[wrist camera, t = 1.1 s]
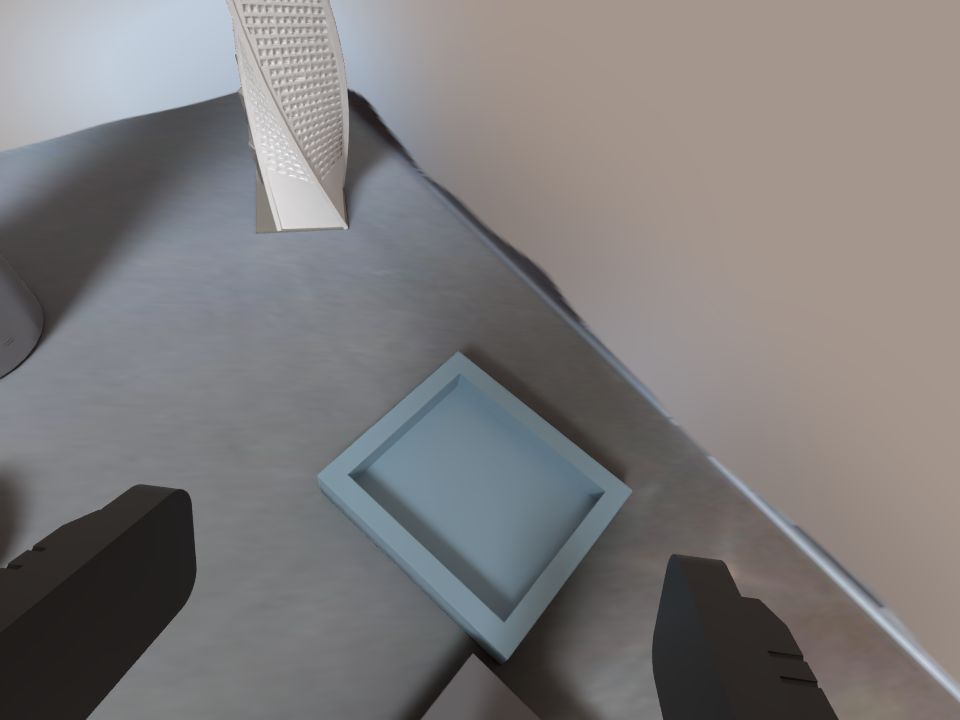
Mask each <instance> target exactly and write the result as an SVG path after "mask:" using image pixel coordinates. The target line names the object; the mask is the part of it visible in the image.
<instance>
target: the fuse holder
mask: <svg viewBox="0 0 960 720" xmlns="http://www.w3.org/2000/svg"><path fill="white" fill-rule="evenodd" d="M420 720H541V719H540V718H538V717H537V716H536V715H535V714H534V713H533V712H532V711H531V710H530V709H529V708H528V707H527V706H526V705H525V704H524V703H523V702H522V701H521V700H520V699H519V698H518V697H517V696H516V695H515V694H514V693H513V692H512V691H511V690H510V689H509V688H508V687H507V686H506V685H505V684H504V683H503V682H502V681H501V680H500V679H499V678H498V677H497V676H496V675H495V674H494V673H493V672H492V671H491V670H490V669H489V668H488V667H487V666H486V665H485V664H484V663H483V662H481V661H480V660H479V659H478V658H477V657H476V656H475V655H474V654H472V655H471V656H470V657H469V658H468V659H467V660H466V661H465V662H464V664H463V665H462V666H461V668H460V669H459V670H458V671H457V673H456V674H455V675H454V676H453V678H452V679H451V680H450V682H449V683H448V684H447V685H446V687H445V688H444V689H443V691H442V692H441V693H440V694H439V696H438V697H437V698H436V699H435V701H434V702H433V703H432V705H431V706H430V707H429V708H428V710H427V711H426V712H425V714H424V715H423V716H422V717H421V719H420Z"/></svg>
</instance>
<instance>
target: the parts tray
mask: <svg viewBox="0 0 960 720" xmlns="http://www.w3.org/2000/svg"><path fill="white" fill-rule="evenodd" d="M317 479H318V482H319V486H320V489H321V492H322V493H323V494H324V495H325V496H326V497H327V498H328V499H329V500H330V501H332V502H333V503H334V504H335V505H336V506H337V507H338V508H339V509H340V510H341V511H342V512H343V513H344V514H345V515H346V516H347V517H348V518H349V519H350V520H351V521H352V522H353V523H354V524H355V525H356V526H357V527H358V528H359V529H360V530H361V531H362V532H363V533H364V534H365V535H366V536H367V537H368V538H370V539H371V540H372V541H373V542H374V543H375V544H376V545H377V546H378V547H379V548H380V549H381V550H382V551H383V552H384V553H385V554H386V555H387V556H388V557H389V558H390V559H391V560H392V561H393V562H394V563H395V564H396V565H397V566H398V567H399V568H400V569H401V570H402V571H403V572H404V573H405V574H406V575H408V576H409V577H410V578H411V579H412V580H413V581H414V582H415V583H416V584H417V585H418V586H419V587H420V588H421V589H422V590H423V591H424V592H425V593H426V594H427V595H428V596H429V597H430V598H431V599H432V600H433V601H434V602H435V603H436V604H437V605H438V606H439V607H440V608H441V609H442V610H443V611H444V612H446V613H447V614H448V615H449V616H450V617H451V618H452V619H453V620H454V621H455V622H456V623H457V624H458V625H459V626H460V627H461V628H462V629H463V630H464V631H465V632H466V633H467V634H468V635H469V636H470V637H471V638H472V639H473V640H474V641H475V642H476V643H477V644H478V645H479V646H480V647H481V648H482V649H484V650H485V651H486V652H487V653H488V654H489V655H490V656H491V657H492V658H493V659H494V660H495V661H496V662H497V663H498V664H499V665H501V664H502V663H504V662H505V661H507V660H508V659H509V657H510V656H511V655H512V653H513V652H514V651H515V649H516V648H517V647H518V645H519V644H520V642H521V641H522V640H523V638H524V637H525V636H526V634H527V633H528V632H529V630H530V629H531V628H532V626H533V625H534V624H535V622H536V621H537V620H538V618H539V617H540V615H541V614H542V613H543V611H544V610H545V609H546V607H547V606H548V605H549V603H550V602H551V601H552V599H553V598H554V597H555V595H556V594H557V593H558V591H559V590H560V588H561V587H562V586H563V584H564V583H565V582H566V580H567V579H568V578H569V576H570V575H571V574H572V572H573V571H574V570H575V568H576V567H577V566H578V564H579V563H580V562H581V560H582V559H583V557H584V556H585V555H586V553H587V552H588V551H589V549H590V548H591V547H592V545H593V544H594V543H595V541H596V540H597V539H598V537H599V536H600V535H601V533H602V532H603V530H604V529H605V528H606V526H607V525H608V524H609V522H610V521H611V520H612V518H613V517H614V516H615V514H616V513H617V512H618V510H619V509H620V508H621V506H622V505H623V503H624V502H625V501H626V499H627V498H628V497H629V495H630V494H631V493H632V491H633V490H631V489H630V488H629V487H628V486H626V485H625V484H624V483H623V482H621V481H620V480H619V479H618V478H616V477H615V476H614V475H613V474H611V473H610V472H609V471H608V470H606V469H605V468H604V467H603V466H601V465H600V464H599V463H598V462H596V461H595V460H594V459H593V458H591V457H590V456H589V455H588V454H586V453H585V452H584V451H583V450H581V449H580V448H579V447H578V446H576V445H575V444H574V443H573V442H571V441H570V440H569V439H568V438H566V437H565V436H564V435H563V434H561V433H560V432H559V431H558V430H556V429H555V428H554V427H553V426H551V425H550V424H549V423H548V422H546V421H545V420H544V419H543V418H541V417H540V416H539V415H538V414H536V413H535V412H534V411H533V410H531V409H530V408H529V407H528V406H526V405H525V404H524V403H523V402H521V401H520V400H519V399H518V398H516V397H515V396H514V395H513V394H511V393H510V392H509V391H508V390H506V389H505V388H504V387H503V386H502V385H500V384H499V383H498V382H497V381H495V380H494V379H493V378H492V377H490V376H489V375H488V374H487V373H485V372H484V371H483V370H482V369H480V368H479V367H478V366H477V365H475V364H474V363H473V362H472V361H470V360H469V359H468V358H467V357H465V356H464V355H463V354H462V353H460V352H459V351H458V352H457V353H456V354H454V355H453V356H452V357H451V358H450V359H449V360H448V361H447V362H445V363H444V364H443V365H442V366H441V367H440V368H439V369H437V370H436V371H435V372H434V373H433V374H432V375H431V376H429V377H428V378H427V379H426V380H425V381H424V382H423V383H421V384H420V385H419V386H418V387H417V388H416V389H415V390H413V391H412V392H411V393H410V394H409V395H408V396H407V397H406V398H404V399H403V400H402V401H401V402H400V403H399V404H398V405H396V406H395V407H394V408H393V409H392V410H391V411H390V412H388V413H387V414H386V415H385V416H384V417H383V418H382V419H380V420H379V421H378V422H377V423H376V424H375V425H374V426H372V427H371V428H370V429H369V430H368V431H367V432H366V433H365V434H363V435H362V436H361V437H360V438H359V439H358V440H357V441H355V442H354V443H353V444H352V445H351V446H350V447H349V448H347V449H346V450H345V451H344V452H343V453H342V454H341V455H339V456H338V457H337V458H336V459H335V460H334V461H333V462H331V463H330V464H329V465H328V466H327V467H326V468H325V469H324V470H322V471H321V472H320V473H319V474H318V475H317Z"/></svg>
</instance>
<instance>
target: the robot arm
mask: <svg viewBox="0 0 960 720" xmlns="http://www.w3.org/2000/svg"><path fill="white" fill-rule="evenodd" d="M43 323H44V317H43V309H42V307H41V305H40V303H39V301H38V299H37V298H36V297H35V296H34V294H33V293H32V292H31V291H30V289H29V288H28V287H27V286H26V284H25V283H24V282H23V281H22V279H21V278H20V277H19V276H18V274H17V273H16V272H15V271H14V269H13V268H12V267H11V266H10V264H9V263H8V262H7V260H6V259H5V258H4V256H3V255H2V254H1V253H0V377H2V376H3V375H5V374H6V373H8V372H9V371H11V370H12V369H14V368H15V367H16V366H17V365H18V364H19V363H20V362H21V361H23V360H24V359H25V358H26V357H27V356H28V354H29V353H30V352H31V350H32V349H33V348H34V346H35V345H36V343H37V341H38V339H39V337H40V335H41V333H42V328H43ZM195 578H196V555H195V541H194V528H193V515H192V503H191V499H190V496H189V494H188V493H187V492H186V491H185V490H182V489H174V488H167V487H159V486H151V485H143V484H139V485H135V486H133V487H132V488H130V489H129V490H127V491H126V492H124V493H123V494H122V495H120V496H119V497H118V498H116V499H115V500H113V501H112V502H111V503H109V504H108V505H106V506H105V507H104V508H102V509H101V510H97V511H95V512H93V513H90V514H88V515H86V516H83V517H81V518H79V519H76V520H74V521H72V522H69V523H67V524H65V525H63V526H61V527H60V528H58V529H57V530H55V531H54V532H53V533H51V534H50V535H48V536H47V537H45V538H44V539H43V540H41V541H40V542H38V543H37V544H35V545H34V546H33V549H32V550H31V551H30V550H27V551H25V552H24V553H22V554H21V555H20V556H18V557H17V558H15V559H14V560H12V561H11V562H10V563H8V567H7V568H6V569H5V568H1V569H0V720H86V719H87V718H88V716H89V715H90V714H91V713H92V712H93V711H94V710H95V708H96V707H97V706H98V705H99V704H100V703H101V701H102V700H103V699H104V698H105V697H106V696H107V695H108V693H109V692H110V691H111V690H112V689H113V688H114V686H115V685H116V684H117V683H118V682H119V681H120V679H121V678H122V677H123V676H124V675H125V674H126V673H127V671H128V670H129V669H130V668H131V667H132V666H133V664H134V663H135V662H136V661H137V660H138V659H139V658H140V656H141V655H142V654H143V653H144V652H145V651H146V649H147V648H148V647H149V646H150V645H151V644H152V643H153V641H154V640H155V639H156V638H157V637H158V636H159V634H160V633H161V632H162V631H163V630H164V629H165V628H166V626H167V625H168V624H169V623H170V622H171V621H172V619H173V618H174V617H175V616H176V615H177V614H178V612H179V611H180V610H181V609H182V608H183V606H184V605H185V603H186V602H187V600H188V598H189V596H190V594H191V592H192V589H193V586H194V582H195ZM652 663H653V673H654V679H655V684H656V689H657V693H658V698H659V702H660V707H661V711H662V716H663V720H839V719H838V718H837V716H836V714H835V712H834V710H833V709H832V707H831V705H830V703H829V701H828V700H827V698H826V696H825V694H824V692H823V690H822V689H821V688H818V685H817V682H818V681H817V680H816V678H815V676H814V674H813V672H812V670H811V669H810V667H809V665H808V663H807V662H804V660H803V654H802V652H801V651H800V649H799V647H798V645H797V643H796V641H795V640H794V638H793V636H792V634H791V632H790V631H789V629H788V627H787V625H785V624H784V623H783V622H782V621H781V620H780V619H779V618H778V617H777V616H776V615H775V614H774V613H773V612H772V611H771V610H770V609H769V608H768V607H767V606H766V605H765V604H764V603H762V602H761V601H760V600H759V599H754V598H746V597H741V595H740V593H739V591H738V589H737V587H736V584H735V582H734V580H733V578H732V576H731V574H730V572H729V570H728V568H727V566H726V564H725V563H724V562H723V561H722V560H715V559H708V558H700V557H692V556H684V555H677V554H673V555H672V556H671V557H670V559H669V562H668V565H667V569H666V574H665V579H664V584H663V589H662V595H661V600H660V605H659V610H658V615H657V620H656V625H655V630H654V635H653V646H652Z"/></svg>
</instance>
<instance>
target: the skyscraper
mask: <svg viewBox="0 0 960 720" xmlns="http://www.w3.org/2000/svg"><path fill="white" fill-rule="evenodd" d="M226 2H227V5H228V8H229V11H230V13H231V16H232V20H233V31H234V37H235V47H236V55H235V57H236V60H237V63H238V67H239V74H240V79H241V85H242V87H241V88H240V89H239V90H238V93H239V97H240V100H241V103H242V107H243V110H244V113H245V117H246V120H247V123H248V130H249V140H250V141H249V142H248V145H249V148H250V150H251V153H252V156H253V159H254V162H255V165H256V234H257V233H278V232H300V231H321V230H342V229H344V230H345V229H348V221H347V212H346V203H345V194H344V184H345V176H346V167H347V155H348V138H349V108H348V94H347V82H346V74H345V67H344V60H343V56H342V50H341V44H340V40H339V36H338V32H337V27H336V23H335V19H334V16H333V13H332V9H331V6H330V2H329V0H226Z"/></svg>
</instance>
